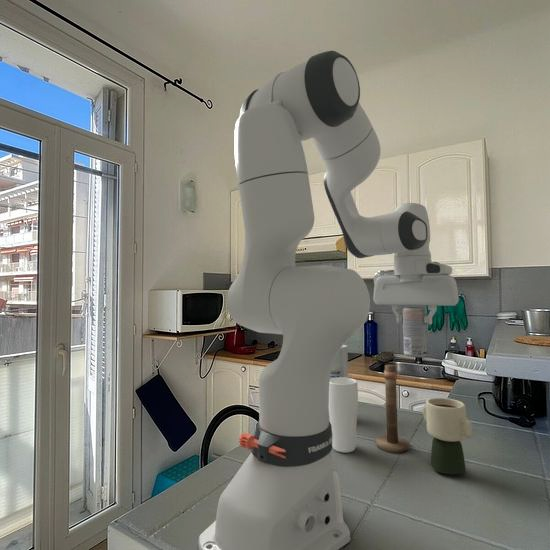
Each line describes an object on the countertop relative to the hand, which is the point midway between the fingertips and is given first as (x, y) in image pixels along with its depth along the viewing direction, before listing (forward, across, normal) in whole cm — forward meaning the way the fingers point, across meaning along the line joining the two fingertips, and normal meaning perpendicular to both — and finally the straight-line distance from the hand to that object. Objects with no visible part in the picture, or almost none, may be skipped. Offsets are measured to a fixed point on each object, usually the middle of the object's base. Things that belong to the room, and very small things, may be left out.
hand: (414, 323), depth 88 cm
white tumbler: (+27, -10, -19) cm, 35 cm away
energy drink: (+8, 0, 0) cm, 8 cm away
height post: (+27, -2, -11) cm, 29 cm away
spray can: (+27, -21, -3) cm, 34 cm away
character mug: (+27, +11, -15) cm, 33 cm away
